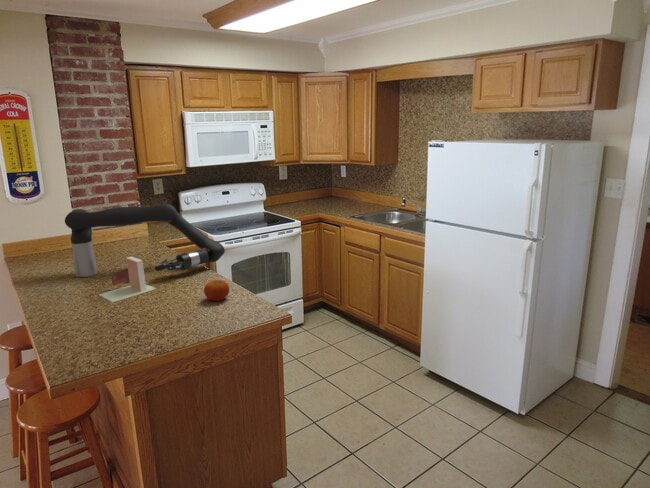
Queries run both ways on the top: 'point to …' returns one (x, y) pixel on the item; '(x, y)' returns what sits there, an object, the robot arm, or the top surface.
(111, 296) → the cutting board
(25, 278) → the top surface
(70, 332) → the top surface
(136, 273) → the white rectangular block
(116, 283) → the wooden tablet
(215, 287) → the fruit
